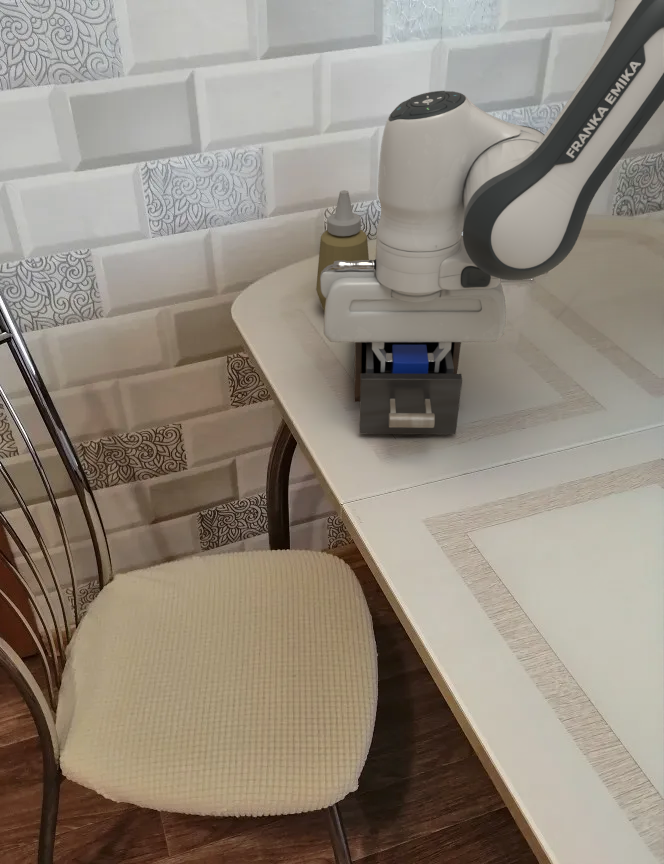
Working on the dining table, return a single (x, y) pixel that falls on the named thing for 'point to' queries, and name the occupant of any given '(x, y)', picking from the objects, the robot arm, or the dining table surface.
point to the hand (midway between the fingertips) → (409, 370)
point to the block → (410, 359)
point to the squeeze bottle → (341, 239)
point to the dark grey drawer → (408, 397)
